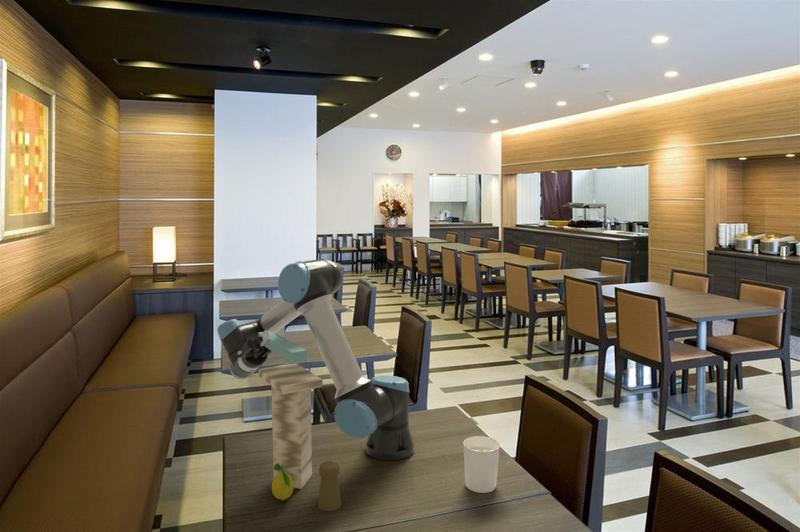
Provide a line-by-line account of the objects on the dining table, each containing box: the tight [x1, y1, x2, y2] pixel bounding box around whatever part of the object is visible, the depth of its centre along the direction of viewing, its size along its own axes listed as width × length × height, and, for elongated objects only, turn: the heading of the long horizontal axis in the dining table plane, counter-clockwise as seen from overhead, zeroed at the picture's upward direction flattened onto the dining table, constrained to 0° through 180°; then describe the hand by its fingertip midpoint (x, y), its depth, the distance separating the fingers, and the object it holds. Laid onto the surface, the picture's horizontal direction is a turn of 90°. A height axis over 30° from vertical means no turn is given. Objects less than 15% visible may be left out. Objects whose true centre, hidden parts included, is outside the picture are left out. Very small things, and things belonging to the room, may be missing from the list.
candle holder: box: [462, 435, 501, 494], centre depth 154 cm, size 10×10×12 cm
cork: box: [317, 460, 342, 512], centre depth 144 cm, size 6×6×11 cm
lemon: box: [271, 463, 294, 502], centre depth 146 cm, size 7×6×10 cm
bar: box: [258, 331, 308, 364], centre depth 158 cm, size 26×4×3 cm, turn 33°
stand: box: [258, 363, 324, 490], centre depth 156 cm, size 11×18×30 cm, turn 33°
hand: (275, 333), depth 162 cm, fingers closed on bar, 4 cm apart
